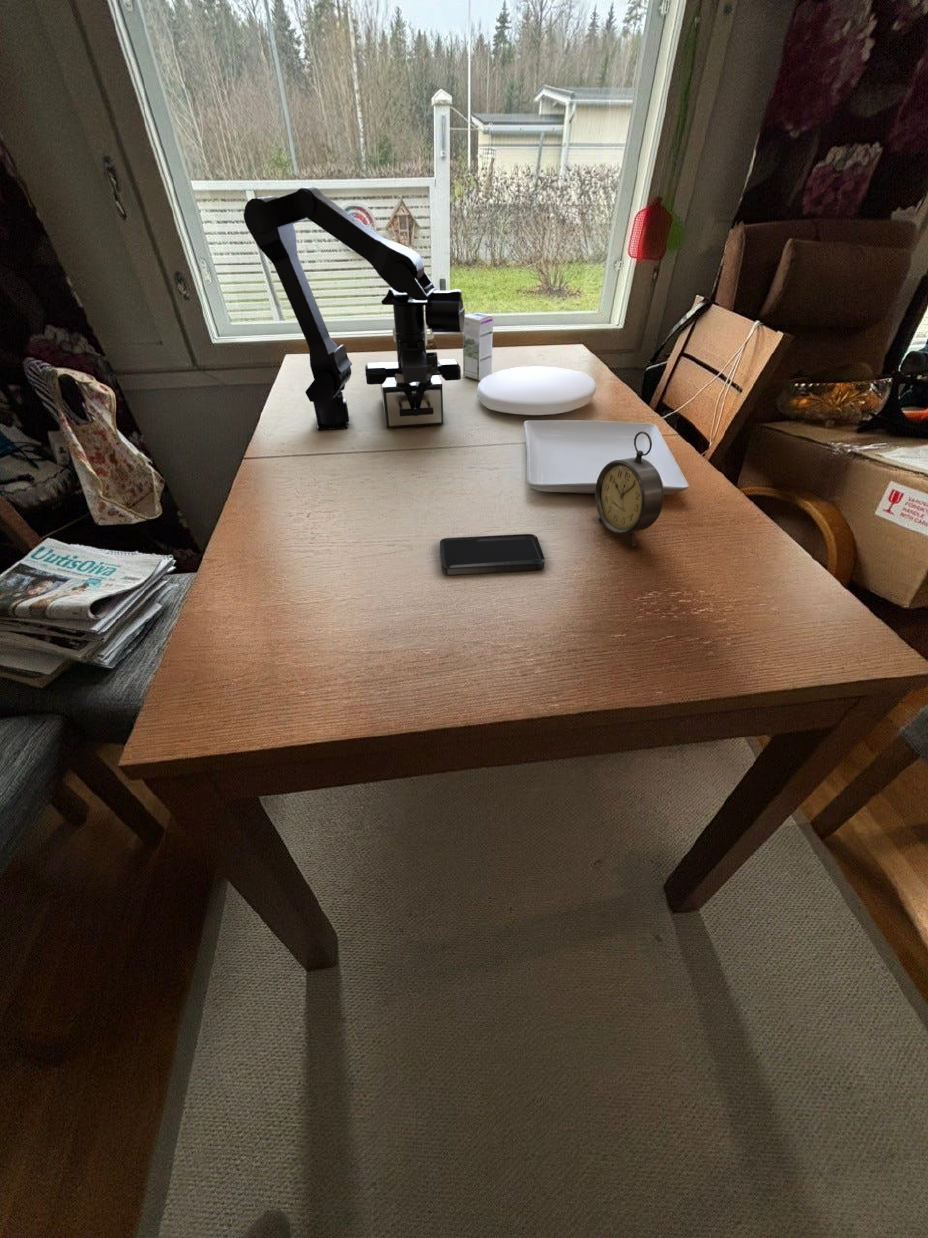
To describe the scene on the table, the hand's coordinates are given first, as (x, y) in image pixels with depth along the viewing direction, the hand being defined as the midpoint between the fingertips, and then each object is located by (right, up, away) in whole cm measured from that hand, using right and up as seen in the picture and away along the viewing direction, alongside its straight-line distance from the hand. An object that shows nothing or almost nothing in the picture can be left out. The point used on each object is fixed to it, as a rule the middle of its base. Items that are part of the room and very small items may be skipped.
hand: (415, 415), depth 106 cm
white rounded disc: (+27, +9, +16) cm, 33 cm away
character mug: (-3, +24, +32) cm, 40 cm away
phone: (+14, -34, -31) cm, 48 cm away
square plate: (+35, -14, -9) cm, 39 cm away
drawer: (-1, +3, +7) cm, 8 cm away
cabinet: (-2, +5, +11) cm, 12 cm away
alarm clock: (+35, -29, -26) cm, 53 cm away
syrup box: (+14, +22, +30) cm, 39 cm away
